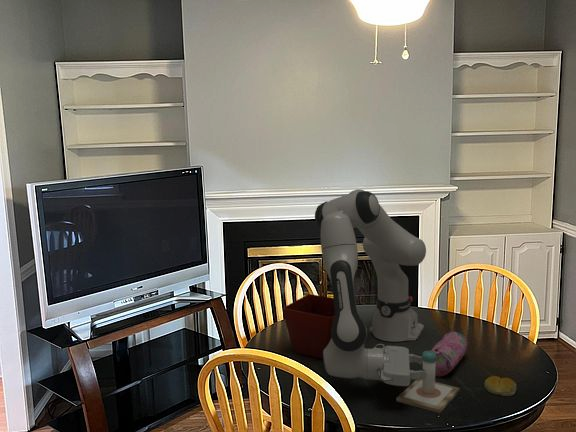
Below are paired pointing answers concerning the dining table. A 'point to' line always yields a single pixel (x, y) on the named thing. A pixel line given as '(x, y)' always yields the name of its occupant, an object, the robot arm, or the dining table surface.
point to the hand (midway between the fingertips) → (425, 367)
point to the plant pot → (310, 324)
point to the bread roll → (500, 386)
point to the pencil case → (449, 352)
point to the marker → (429, 372)
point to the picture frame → (428, 396)
